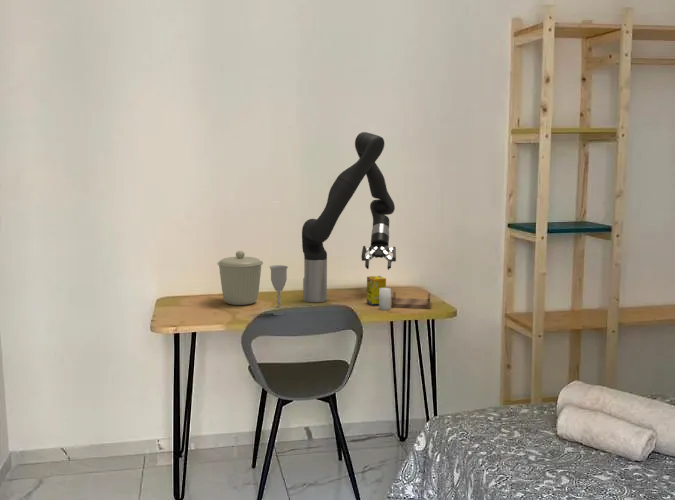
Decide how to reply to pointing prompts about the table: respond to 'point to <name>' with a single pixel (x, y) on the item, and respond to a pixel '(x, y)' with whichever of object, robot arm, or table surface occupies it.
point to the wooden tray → (410, 302)
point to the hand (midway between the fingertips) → (378, 268)
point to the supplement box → (374, 289)
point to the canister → (240, 279)
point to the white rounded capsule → (384, 298)
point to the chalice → (278, 279)
